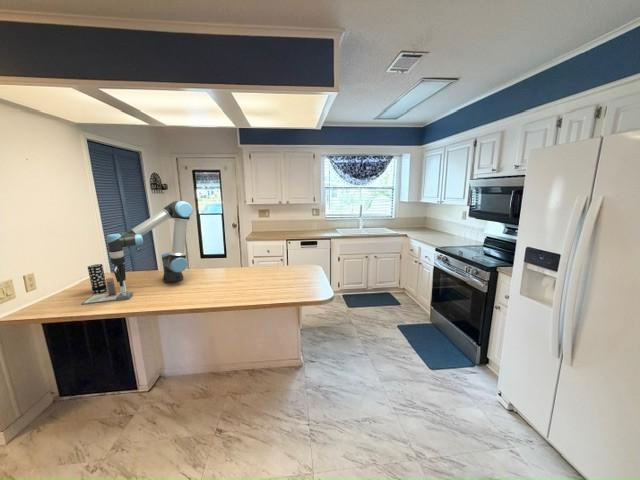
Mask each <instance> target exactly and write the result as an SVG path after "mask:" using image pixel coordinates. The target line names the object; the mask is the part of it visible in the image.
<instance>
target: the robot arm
mask: <svg viewBox="0 0 640 480" xmlns="http://www.w3.org/2000/svg"><path fill="white" fill-rule="evenodd" d="M192 214H193V207H192V205H191V204H190V203H189V202H186V201H184V200H174V201H172V202H171V203H168V204H167V205H166V206H165V207H163V208H162V209H161V211H159V212H157V213H156V214H154V215H153V216H151V217H150V218H148V219H146V220H144V221H143V222H141V223H140V224H138V225H136V226H135V227H133V228H132V229H130V230H128V231H126V232H123V233H122V234H121V233H112V234H108V235H106V243H107V248H108V255H109V258H110V264H112V265H114V266H113V267H114V269H112V271H113V274H114V277H115V279H116V282H117V283H118V284H119V289H120V291H124V290H127V287H126V280H127V277H126V264H124V263H125V262H126V259H125V258H126V257H125V253H124V248H127V247H135V246H141V245H143V244H144V238H143V236H144V235H145V234H148V233H149V232H150V231H152V230H153V229H155V228H157V227H158V226H159V225H161V224H163V223H165V222H166V221H168V220H169V219H170V220H172V219H173V221H174V224H173V231H172V233H173V234H172V245H171V252H165V253H163V254H161V261H162V268H163V276H162V283H164V284H172V283H177V282H180V281H183V280H184V279H185V277H184V276H185V275H184V274H183V272H184V271H185V270H186V269H187V267H188V261H187V254H186V253H185V249H186V237H187V225H188V221H190V219H191V216H192ZM183 278H184V279H183ZM182 279H183V280H182Z"/></svg>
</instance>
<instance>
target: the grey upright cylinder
mask: <svg viewBox="0 0 640 480" xmlns="http://www.w3.org/2000/svg"><path fill="white" fill-rule="evenodd" d="M105 280H106V285H107V292H108V294H109V296H114V295H116V292H117V291H116V287H115V286H116V285H115V281H114V277H108V278H105Z"/></svg>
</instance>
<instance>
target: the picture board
mask: <svg viewBox="0 0 640 480" xmlns="http://www.w3.org/2000/svg"><path fill="white" fill-rule="evenodd" d="M120 293H121V292H120V291H116V295H114V296H109V294H108V293H100V294H92V295H91V296H90V297H88V298H87V299H85V301H83V302H82V303H81V306H83V305H93V304H101V303H110V302H118V301H117V299H116V297H117V296H118V295H119V294H120Z"/></svg>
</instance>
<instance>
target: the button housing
mask: <svg viewBox="0 0 640 480" xmlns="http://www.w3.org/2000/svg"><path fill="white" fill-rule="evenodd" d="M126 294H127V295H122V293H120V294H119V295H118V296H117V297H116V299H117V301H116V302H121V301H129V300H131V299H132V298H133V296H134V294H133V291H127V292H126Z"/></svg>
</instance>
